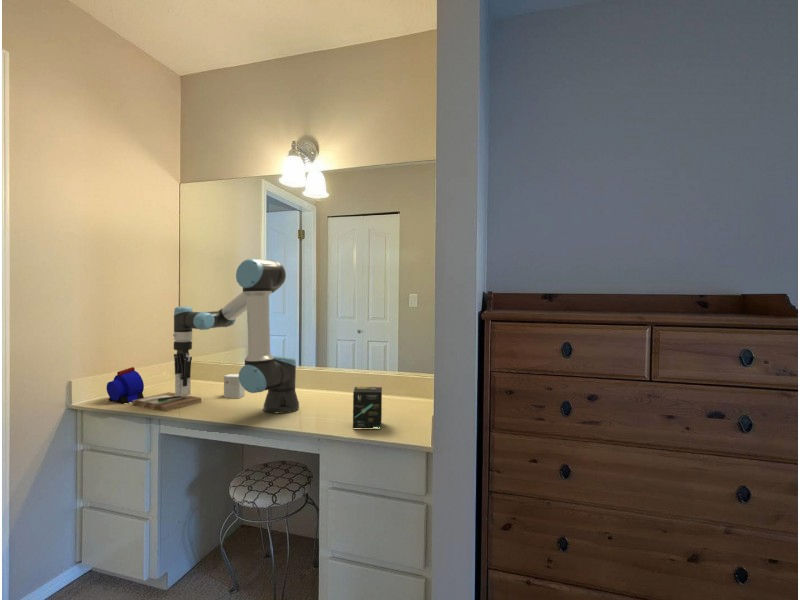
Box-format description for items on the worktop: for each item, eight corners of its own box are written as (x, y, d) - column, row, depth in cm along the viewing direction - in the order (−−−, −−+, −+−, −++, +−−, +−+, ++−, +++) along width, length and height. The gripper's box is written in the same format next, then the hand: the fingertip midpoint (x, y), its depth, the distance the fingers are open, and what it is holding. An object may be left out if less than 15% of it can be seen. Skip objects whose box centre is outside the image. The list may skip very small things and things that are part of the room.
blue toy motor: (145, 399, 210) (146, 367, 210) (119, 405, 199) (119, 371, 199) (129, 396, 216) (129, 365, 215) (102, 401, 205) (103, 368, 205)
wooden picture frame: (201, 402, 207) (201, 397, 207) (165, 411, 191) (166, 405, 191) (168, 396, 217) (168, 391, 217) (132, 404, 201) (132, 399, 201)
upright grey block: (189, 395, 208) (189, 372, 208) (190, 396, 206) (190, 373, 206) (157, 399, 200) (157, 375, 200) (158, 400, 198) (158, 375, 198)
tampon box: (381, 422, 181) (382, 386, 181) (381, 430, 172) (381, 391, 172) (354, 422, 181) (354, 386, 181) (352, 429, 172) (352, 391, 171)
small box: (244, 395, 221) (245, 374, 221) (239, 398, 216) (239, 376, 215) (229, 395, 222) (229, 373, 222) (223, 397, 216) (223, 375, 216)
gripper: (166, 339, 207) (166, 390, 207) (182, 343, 197) (181, 397, 197) (183, 338, 213) (182, 388, 213) (199, 341, 202) (198, 394, 203)
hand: (182, 392), depth 205 cm, fingers closed on upright grey block, 3 cm apart
